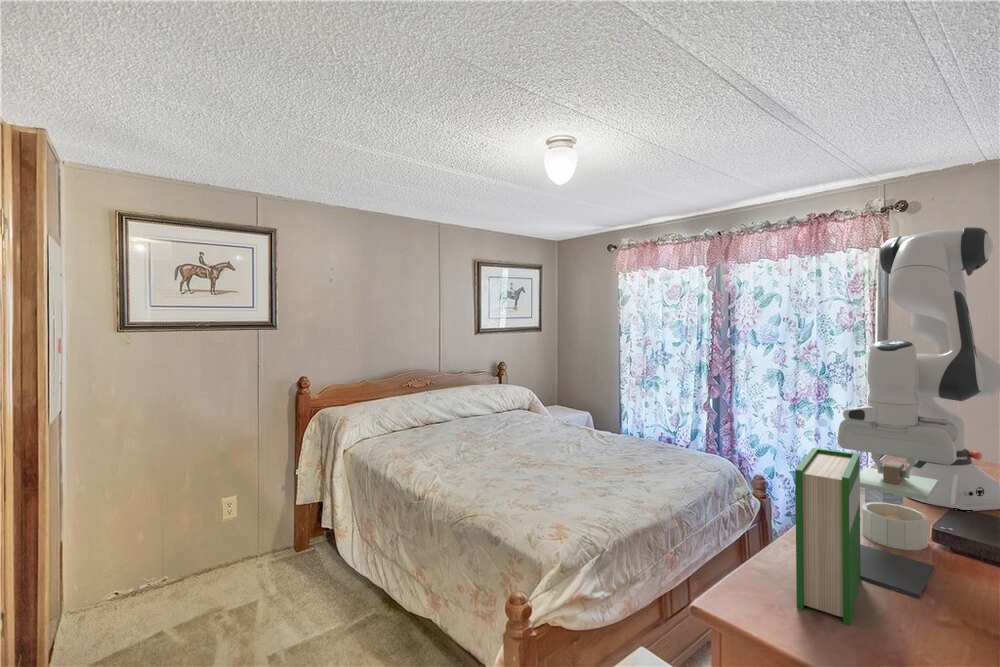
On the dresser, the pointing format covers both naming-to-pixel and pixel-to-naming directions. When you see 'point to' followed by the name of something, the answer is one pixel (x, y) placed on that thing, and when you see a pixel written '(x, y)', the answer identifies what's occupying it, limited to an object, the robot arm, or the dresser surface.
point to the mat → (894, 571)
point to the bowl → (894, 526)
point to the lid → (897, 482)
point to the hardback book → (828, 531)
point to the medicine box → (882, 497)
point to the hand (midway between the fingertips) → (893, 475)
